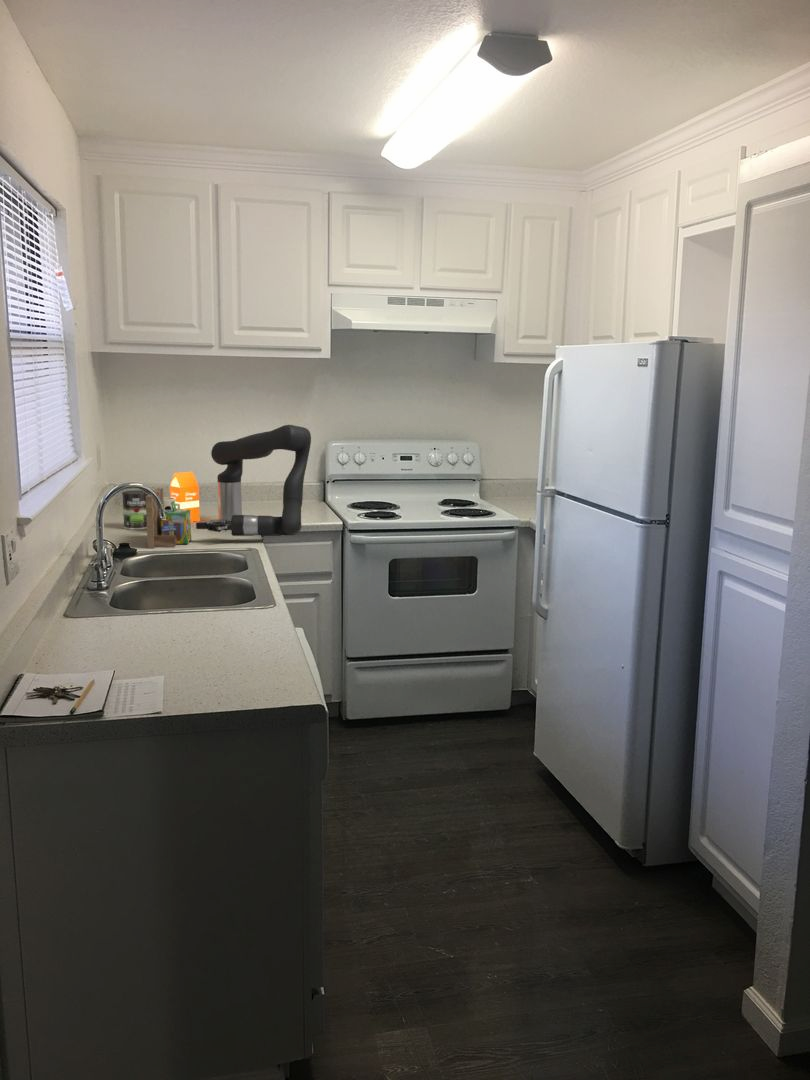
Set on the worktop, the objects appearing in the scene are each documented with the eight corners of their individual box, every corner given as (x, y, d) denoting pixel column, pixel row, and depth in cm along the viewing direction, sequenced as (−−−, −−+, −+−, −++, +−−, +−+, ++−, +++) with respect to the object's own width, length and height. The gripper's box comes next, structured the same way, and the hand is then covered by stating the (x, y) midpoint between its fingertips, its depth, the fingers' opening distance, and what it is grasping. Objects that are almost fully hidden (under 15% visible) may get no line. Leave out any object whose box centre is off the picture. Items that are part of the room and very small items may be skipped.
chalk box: (187, 545, 305) (185, 503, 302) (161, 545, 304) (159, 503, 302) (192, 540, 314) (190, 499, 311) (166, 540, 313) (165, 499, 311)
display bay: (159, 536, 320) (157, 488, 316) (184, 536, 320) (182, 488, 317) (147, 548, 298) (145, 496, 295) (174, 548, 299) (172, 496, 296)
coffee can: (151, 529, 334) (149, 493, 332) (123, 530, 332) (121, 493, 329) (151, 525, 344) (150, 489, 342) (124, 526, 342) (122, 490, 339)
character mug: (149, 534, 325) (148, 499, 322) (154, 530, 332) (153, 497, 329) (178, 534, 325) (177, 500, 323) (183, 531, 332) (182, 497, 330)
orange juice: (170, 521, 354) (168, 472, 350) (189, 518, 360) (187, 471, 356) (181, 523, 348) (179, 474, 345) (200, 521, 355) (198, 472, 351)
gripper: (246, 512, 316) (198, 512, 315) (243, 518, 303) (193, 518, 302) (247, 532, 318) (199, 532, 316) (243, 539, 305) (193, 539, 303)
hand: (196, 525), depth 309 cm, fingers closed
